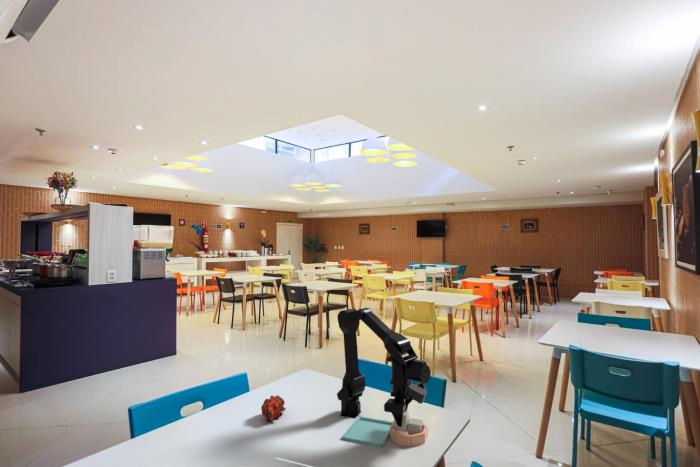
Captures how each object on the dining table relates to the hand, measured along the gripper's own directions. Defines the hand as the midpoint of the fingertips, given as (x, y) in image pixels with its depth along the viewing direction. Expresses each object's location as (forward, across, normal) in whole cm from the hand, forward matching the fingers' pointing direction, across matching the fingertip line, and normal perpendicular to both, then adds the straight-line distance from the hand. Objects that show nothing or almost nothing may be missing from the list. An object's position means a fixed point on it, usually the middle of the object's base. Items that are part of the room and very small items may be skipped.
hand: (401, 423), depth 123 cm
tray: (+4, -2, +11) cm, 12 cm away
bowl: (+4, 0, -2) cm, 5 cm away
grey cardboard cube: (+2, 0, 0) cm, 2 cm away
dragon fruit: (+4, -4, +49) cm, 49 cm away
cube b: (+4, 0, -5) cm, 6 cm away
